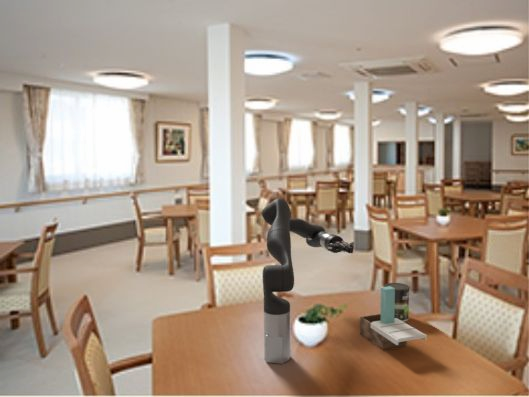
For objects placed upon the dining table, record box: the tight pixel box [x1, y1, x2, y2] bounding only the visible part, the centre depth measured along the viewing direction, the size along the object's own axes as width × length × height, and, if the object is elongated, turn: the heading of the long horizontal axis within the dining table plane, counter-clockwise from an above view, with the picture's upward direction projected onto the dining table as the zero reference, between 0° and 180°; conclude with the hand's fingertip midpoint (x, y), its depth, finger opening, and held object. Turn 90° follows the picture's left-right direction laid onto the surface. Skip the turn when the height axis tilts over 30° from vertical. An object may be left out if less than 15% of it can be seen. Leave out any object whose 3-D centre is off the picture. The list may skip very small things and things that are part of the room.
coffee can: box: [383, 282, 410, 323], centre depth 198 cm, size 10×10×14 cm
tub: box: [359, 313, 407, 351], centre depth 176 cm, size 16×10×7 cm, turn 19°
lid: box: [370, 286, 427, 345], centre depth 166 cm, size 17×12×15 cm
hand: (351, 250), depth 186 cm, fingers closed
